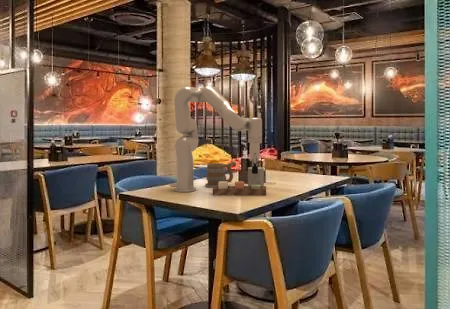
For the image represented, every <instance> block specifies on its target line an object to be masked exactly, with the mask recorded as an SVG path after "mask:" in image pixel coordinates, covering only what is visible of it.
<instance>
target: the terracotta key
mask: <svg viewBox="0 0 450 309" xmlns="http://www.w3.org/2000/svg"><path fill="white" fill-rule="evenodd" d="M234 186H235V189H244V186H245V181H244V180H243V181H241V180H240V181H239V180H238V181H236V180H235V181H234Z"/></svg>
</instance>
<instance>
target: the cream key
mask: <svg viewBox="0 0 450 309" xmlns="http://www.w3.org/2000/svg"><path fill="white" fill-rule="evenodd" d="M228 186H229V183H228V181H219V182H218V188H228Z"/></svg>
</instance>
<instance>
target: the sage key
mask: <svg viewBox="0 0 450 309" xmlns="http://www.w3.org/2000/svg"><path fill="white" fill-rule="evenodd" d="M251 189H260V185H251Z"/></svg>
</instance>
